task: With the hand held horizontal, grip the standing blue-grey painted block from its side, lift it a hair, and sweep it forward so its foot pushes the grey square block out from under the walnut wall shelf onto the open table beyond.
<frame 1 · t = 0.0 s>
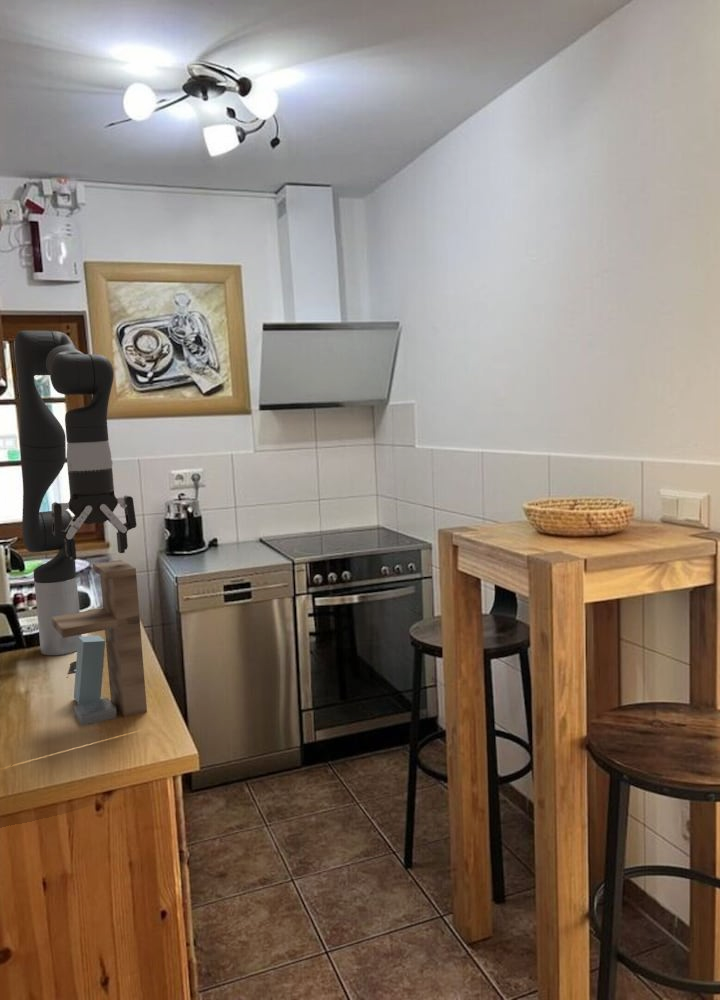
hand: (97, 555, 134), 29 cm above the countertop, tool pointing down, fingers open, 8 cm apart
grey square block: (96, 719, 135), on the countertop
hacksaw: (88, 684, 154), on the countertop, touching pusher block
shelf cabinet: (128, 707, 139), on the countertop
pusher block: (86, 699, 142), on the countertop, tilted 9°, touching hacksaw
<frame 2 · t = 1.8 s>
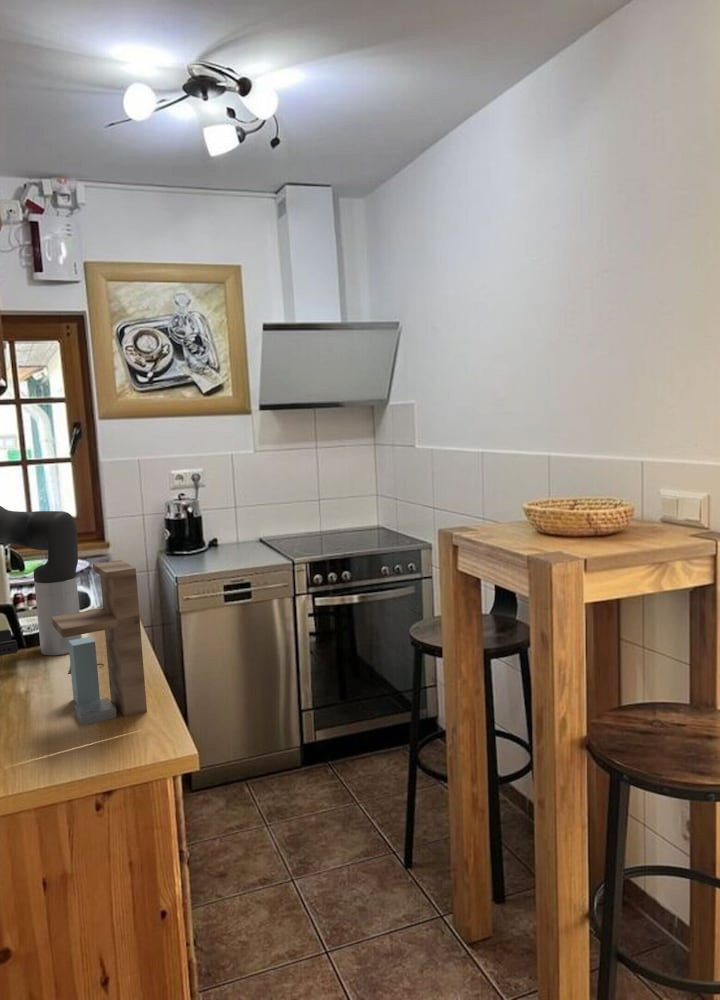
hand: (14, 640, 134), 15 cm above the countertop, tool horizontal, fingers open, 8 cm apart
hacksaw: (88, 684, 154), on the countertop
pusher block: (86, 701, 142), on the countertop
everything else where it was.
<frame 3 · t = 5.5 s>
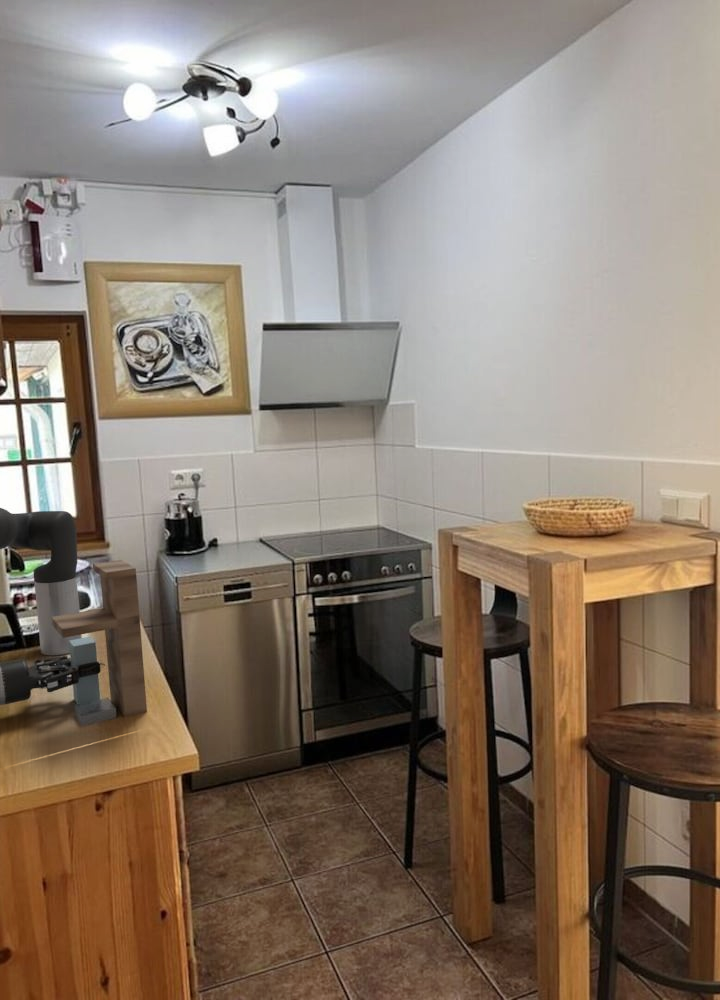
hand: (96, 663, 143), 7 cm above the countertop, tool horizontal, fingers closed on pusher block, 4 cm apart
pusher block: (87, 700, 143), on the countertop, touching gripper
everything else where it was.
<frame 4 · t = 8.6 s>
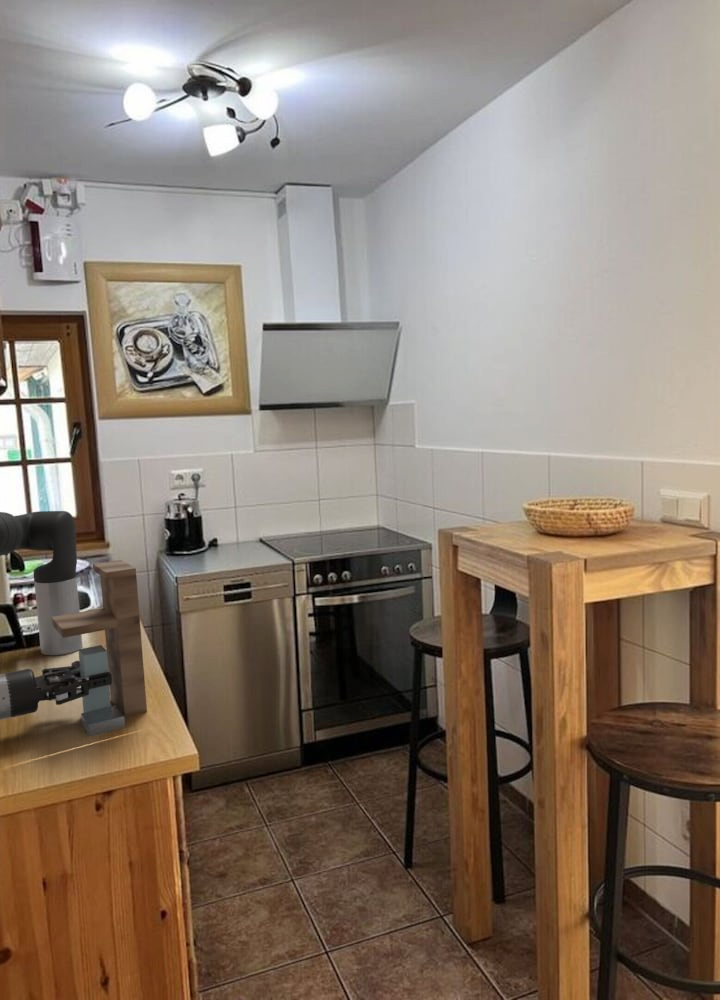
hand: (107, 674, 135), 8 cm above the countertop, tool horizontal, fingers closed on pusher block, 4 cm apart
grey square block: (103, 728, 130), on the countertop
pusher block: (97, 713, 134), point 1 cm above the countertop, touching gripper
everything else where it was.
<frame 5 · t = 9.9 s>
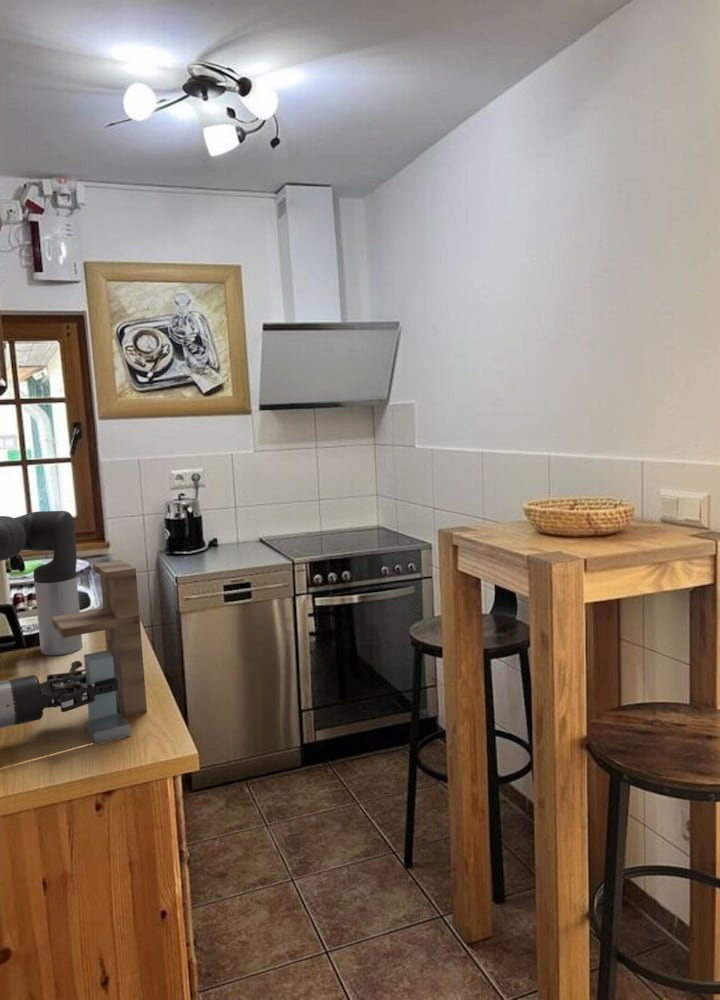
hand: (113, 680, 132), 8 cm above the countertop, tool horizontal, fingers closed on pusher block, 4 cm apart
grey square block: (109, 736, 127), on the countertop
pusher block: (103, 720, 132), point 1 cm above the countertop, touching gripper
everything else where it was.
when the fingers open (8 cm above the countertop, at t = 11.1 s): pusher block stays where it is, on the countertop.
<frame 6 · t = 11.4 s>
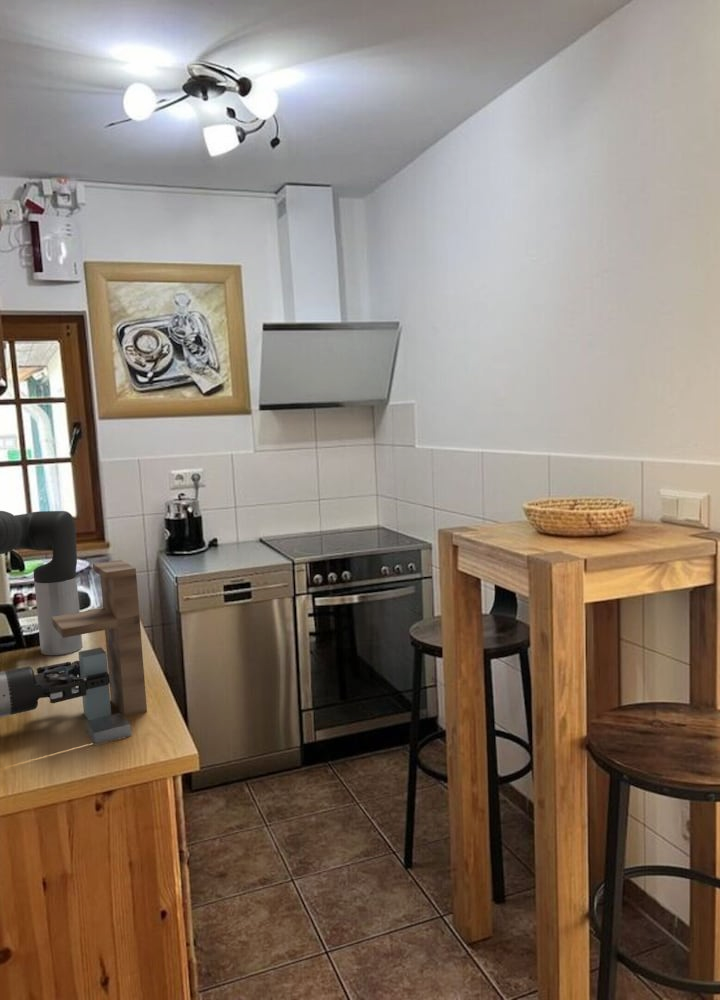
hand: (103, 672, 136), 8 cm above the countertop, tool horizontal, fingers open, 7 cm apart
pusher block: (97, 715, 136), on the countertop
everything else where it was.
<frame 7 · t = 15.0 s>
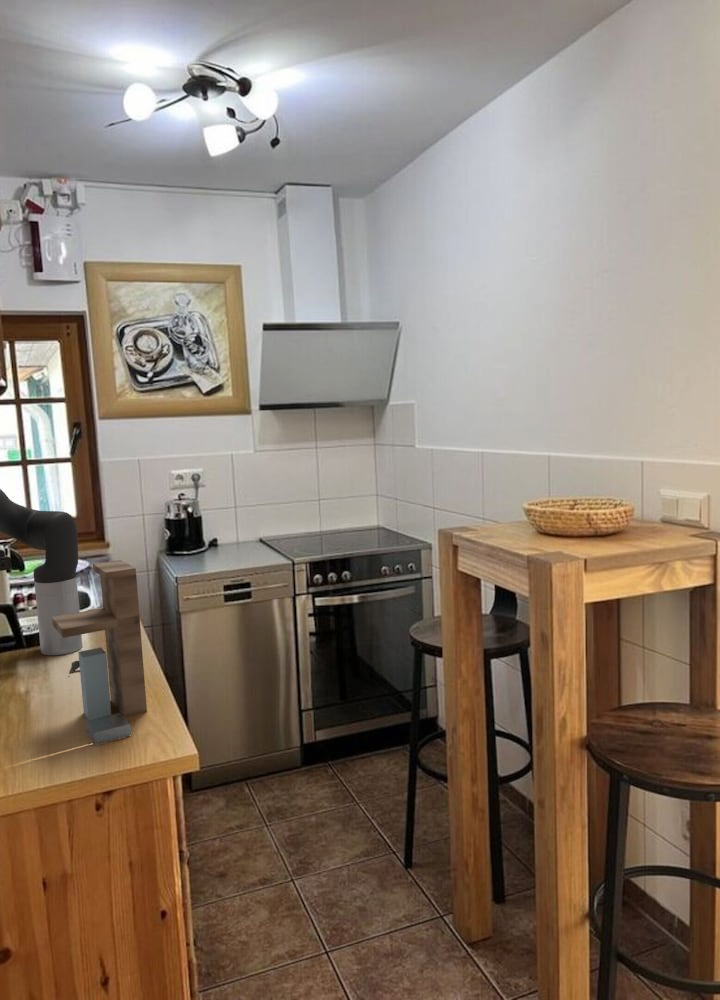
hand: (7, 559, 131), 30 cm above the countertop, tool horizontal, fingers open, 8 cm apart
nothing on the countertop moved.
at the end: grey square block inside the target area (4.1 cm from its centre), on the countertop; grey square block moved 8.9 cm from its start; the gripper is holding nothing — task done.
